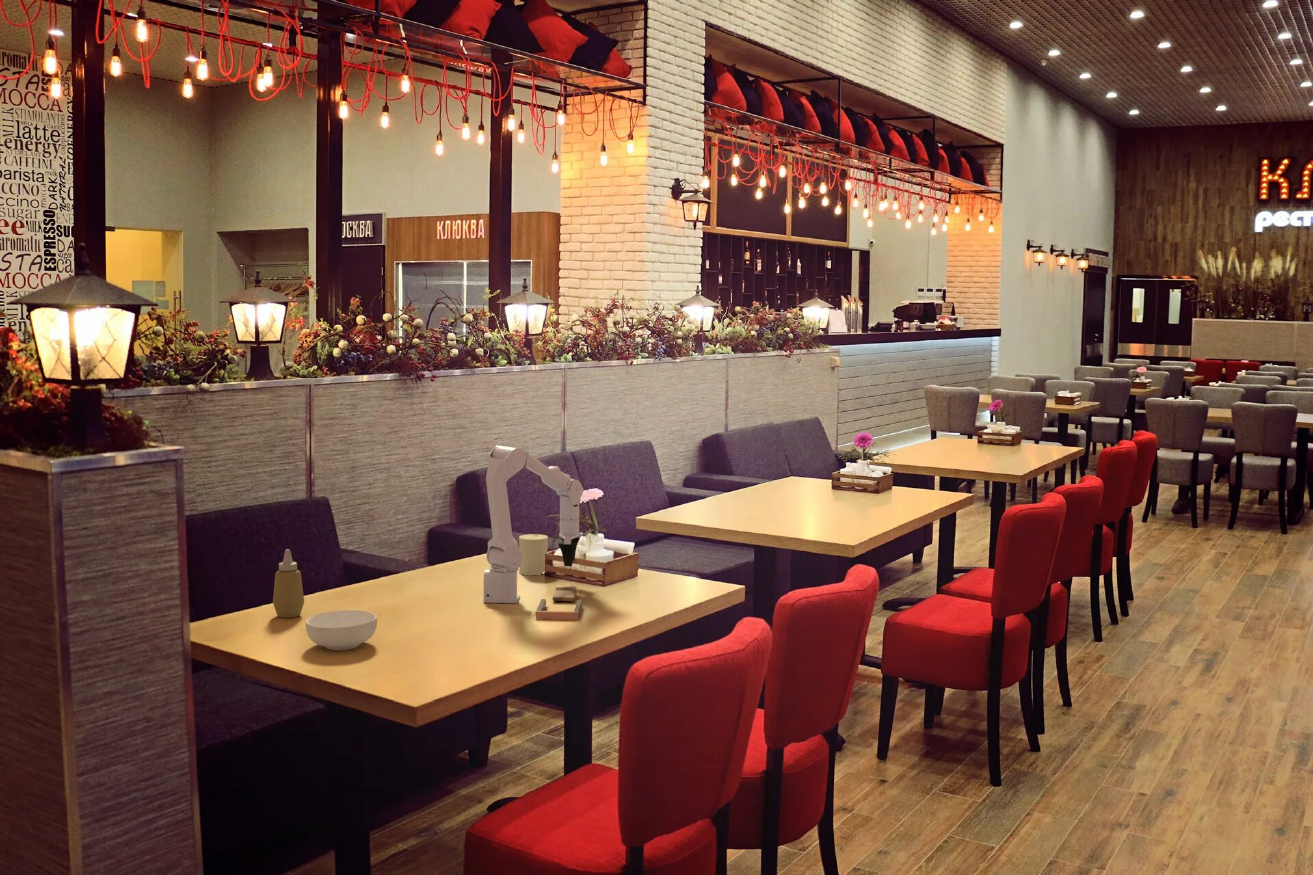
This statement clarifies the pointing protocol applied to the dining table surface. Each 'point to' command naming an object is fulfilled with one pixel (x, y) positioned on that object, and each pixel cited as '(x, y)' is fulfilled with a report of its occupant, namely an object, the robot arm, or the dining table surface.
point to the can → (533, 553)
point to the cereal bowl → (341, 628)
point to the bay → (558, 612)
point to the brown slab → (565, 593)
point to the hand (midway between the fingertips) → (569, 563)
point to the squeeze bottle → (288, 589)
